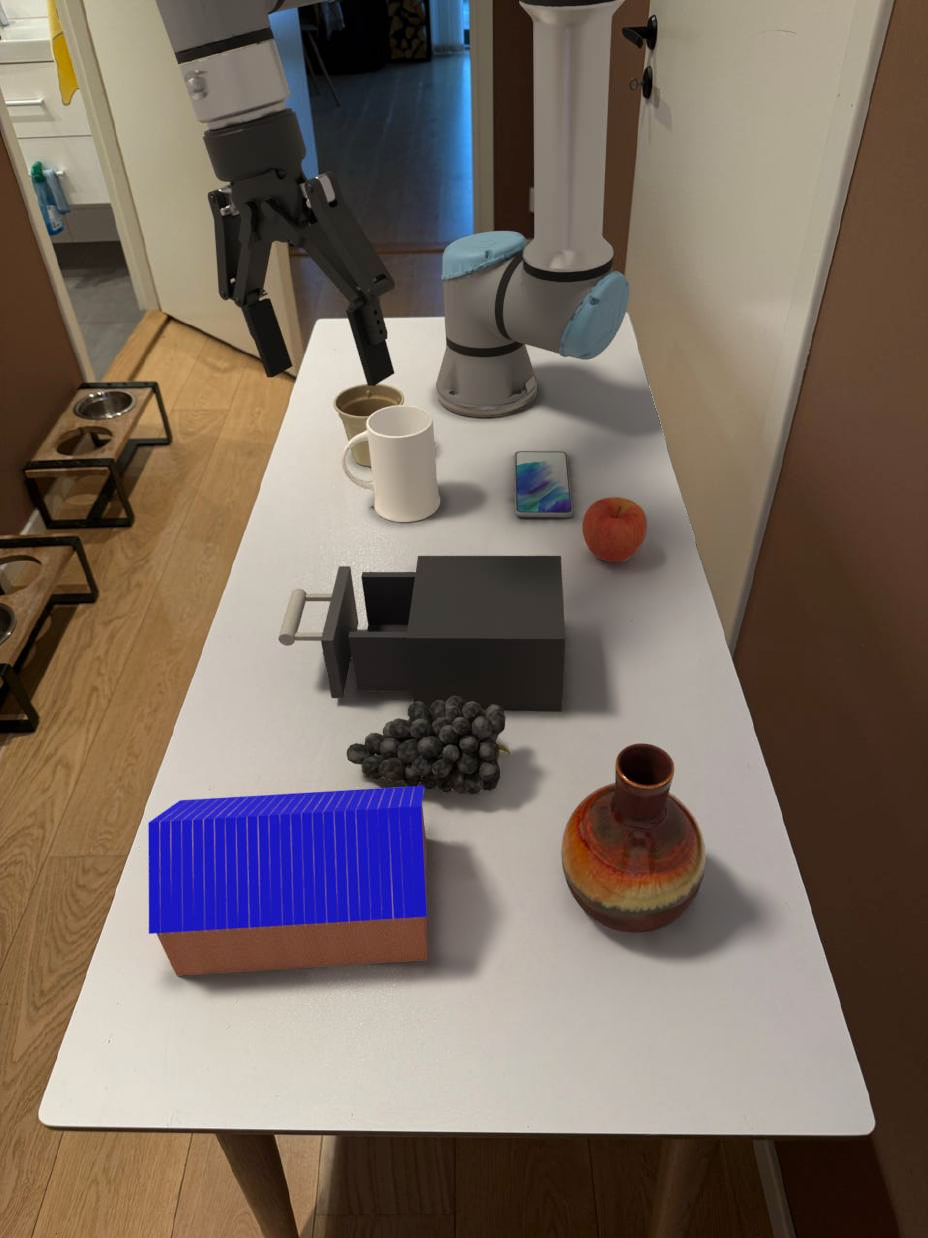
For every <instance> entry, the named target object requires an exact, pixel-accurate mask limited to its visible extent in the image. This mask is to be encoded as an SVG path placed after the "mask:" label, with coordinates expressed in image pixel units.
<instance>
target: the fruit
mask: <svg viewBox="0 0 928 1238" xmlns="http://www.w3.org/2000/svg"><path fill="white" fill-rule="evenodd" d="M407 717H408V719H404V718H400V717H397V718H394V719H393V720H390V721H388V722H386V723H385V725H383V726H384V727H383V728H382V734H381V733H378V732H370V733H368V735H367V736H366V737H365V738H364V744H363V743H357V742H355V743H353V744H352V743H351V744H350V745H349V746H348V747H347V749H346V753H345V755H346V758H347V761H348V762H351V763H352V764H354V765H360V768H361V773H363V775H364V776H365V777H367V778H370V779H372V780H375V781H376V780H379V779H382V778H383V779H385V780H389V781H391V782H393V783H400V782H403V784H404V785H405V786H406V787H411V786H420V783H421V786H424V790H425V789H426V790H428V791H429V790H431V791H433V790H435V788H438V790H439V791H441V792H442V793H445V794H448V793H451V792H452V791H453V792H455V793H457V794H460V795H461V794H466V793H467V794H469V795H479V794H480V793H481V791H482V790H483V791H487V792H491V791H493V790H495V789H497V787H498V785H499V783H500V780H501V768H500V765H499V762H498V759H499V758H500V751H502V752H505V753H507V754H509V755H512V752H511V750H510V749H509V748H507V747H505V746H504V745H503V744H499V743H497V741H498V737H499V735H500V734H502V733H503V732H504V730H505V728H506V716H505V711H504V710H503V708H502V707H501V706H499V705H496V704H491V705H490V706H489V707H488V708H487V709H486V710H483V709H482V708H481V706H480V704H478V703H476V702H474V701H471V702H467V703H466V702H465V700H464V699H463V698H462V697H459V696H452V697H450V698H448V700H447V701H446V702H444V701H441V700H436V701H434V702H433V703H431V706H430V708H429V710H428V708H427V706H426V705H425V704H424V703H423V702H419V701H418V702H413V701H412V703H411V704H409V705H408V707H407Z"/></svg>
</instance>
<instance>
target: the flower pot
mask: <svg viewBox="0 0 928 1238" xmlns="http://www.w3.org/2000/svg"><path fill="white" fill-rule="evenodd" d="M404 403H405V395H404V393H403V392H402V390H401V389H399V388H397V387H395V386H392V385H389V384H384V383H378V384H376V385H375V386H368V385H367V383H362V384H357V385H352V386H349V387H348V388H345V389H343V390H342V391H340V392H339V393H338V394H337V395H335V397H334V399H333V408H334V411H336V413H337V414H338V417H339V418H340V420H341V422H342V425H343V428H344V432H345V435H346V438H347V443H348V442H349V441H350V440H351V439H352V438H353V437H355V436H356V435H358V434H360V433H362V432H365V431H366V430H367V426H366V422H367V419H368V418H369V416H370V415H371V414H373V413H374V412H376V411H378V410H380V409H383V408H386V407H390V406H396V405H404ZM350 452H351V457H352V458H353V460H354V462H355V463H356V464H358V465H361V466H364V467H370V468H371V460H370V451H369V443H368V441H362V442H359V443H357V444H355V445H354V446H353V447H352V448H351V449H350Z"/></svg>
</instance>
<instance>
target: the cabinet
mask: <svg viewBox="0 0 928 1238" xmlns="http://www.w3.org/2000/svg"><path fill="white" fill-rule="evenodd" d="M416 559H417V561H416V567H415V572H416V573H415V580H414V587H413V594H412V602H411V609H410V616H409V623H408V630H407V637H406V639H407V649H408V659H409V669H410V678H411V688H412V692H411V697H412V703H413V702H418V701H419V702H423V703H424V704H425V705H426V706H427V708H428V710H429V708H430V706H431V703H433V702H434V701H436V700H441V701H444V702H446V701H447V700H448V698H450V697H452V696H459V697H462V698H463V699H464V700H465V702H466V703H467V702H471V701H474V702H476V703H478V704H480V706H481V708H482V709H483V710H484V711H485V710H486V709H487V708H488V707H489V706H490V705H491V704H496V705H499V706H501V707H502V708H503V710H504V712H505V711H506V712H507V711H511V712H513V711H514V712H562V711H563V695H564V677H565V676H564V675H565V673H564V672H565V655H566V623H565V605H564V604H565V603H564V586H563V569H562V567H563V565H562V556H561V555H417V558H416Z"/></svg>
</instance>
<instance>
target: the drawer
mask: <svg viewBox="0 0 928 1238" xmlns="http://www.w3.org/2000/svg"><path fill="white" fill-rule="evenodd" d="M415 573H416V571H362V572H361V576H360V577H361V584H362V592H363V598H364V599H363V600H364V606H365V613H366V620H367V627H366V631H358V628H359V616H358V610H357V602H356V595H355V588H354V583H353V576H352V570H351V566H350V565H339V566H338V569H337V573H336V577H335V581H334V585H333V589H332V593H307V592H306V590H304V589H302V588H295V589H293V590H292V591H291V594H290V598H289V601H288V604H287V608H286V611H285V615H284V617H283V621H282V623H281V624H282V625H281V627H280V631H279V634H278V642H279V643H280V644H281V645H283V646H286V647H287V646H288V647H290V646H292V645H294V644H295V642H299V641H300V642H302V641H303V642H320V643H321V649H322V655H323V659H324V660H323V661H324V666H325V670H326V676H327V680H328V686H329V691H330V692H329V693H330V697H331V699H344V697H345V691H346V687H347V683H348V682H347V681H348V677H349V671H350V667H351V662H352V668H353V674H354V681H355V687H356V691H357V692H394V693H396V692H397V693H398V692H399V693H400V692H402V693H403V692H404V693H405V692H407V693H408V692H409V693H410V692H411V693H412V688H411V678H410V669H409V659H408V649H407V639H406V637H407V630H408V623H409V616H410V609H411V602H412V594H413V587H414V580H415ZM306 602H329V605H328V608H327V609H328V611H327V614H326V617H325V621H324V626H323V630H322V632H300V631H299V627H300V624H301V620H302V616H303V612H304V610H305V605H306ZM298 631H299V632H298Z"/></svg>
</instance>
